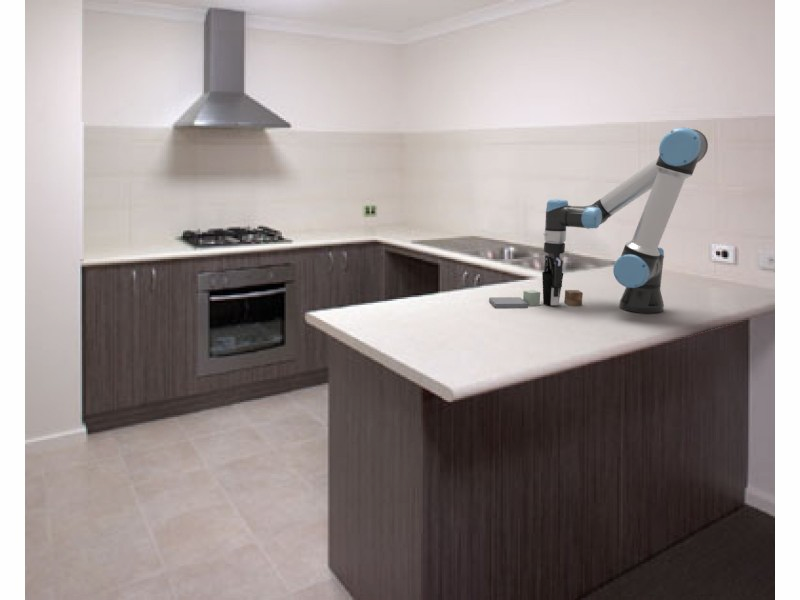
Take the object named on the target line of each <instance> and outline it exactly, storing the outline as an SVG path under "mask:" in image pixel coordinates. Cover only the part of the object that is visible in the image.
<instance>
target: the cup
mask: <svg viewBox="0 0 800 600" xmlns="http://www.w3.org/2000/svg"><path fill="white" fill-rule="evenodd" d="M541 277H542V278H541V279H542V302H543V303H542V304H543V305H544V306H548V307H555V306H558V305H559V304H560V303H558V305H551V290H552V288H551V286H553V283H552V277H553V274H547V271H544V270H543V271H542V274H541ZM563 278H564V273H563V272H562V280H563ZM561 291H562V287H560V288H559V299H560V297H561Z"/></svg>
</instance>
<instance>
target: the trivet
mask: <svg viewBox="0 0 800 600" xmlns="http://www.w3.org/2000/svg"><path fill="white" fill-rule="evenodd" d="M488 298H489V299H488V302H489V303H490V304H491V305H492V306H493V308H494V309H528V307H529V306H528V303H527V302H525V301H524V300H523V297H521V296H518V297H517V296H515V297H514V296H512V297H510V296H509V297H508V296H507V297H506V296H505V297H504V296H503V297H502V296H501V297H500V296H499V297H495V296H494V297H491V296H490V297H488Z"/></svg>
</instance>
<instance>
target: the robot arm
mask: <svg viewBox="0 0 800 600" xmlns="http://www.w3.org/2000/svg"><path fill="white" fill-rule="evenodd" d="M708 143H709V142H708V139H707V137H706V135H705V134H704V133H703V132H701V130H700V131H699V130H698V129H693V128H690V127H678V128H675V129H672V130H670V131H669V132H667V133H666V134H665V135H664V136H663V138H662V139H661V141H660V142H659V148H658V153H659V155H658V157H657V158H656V159H654V160H653V161H651V162H650V163H649V164H647V165H646V166H644V167H643V168H641V169H639V171H637V172H636V173H634V174H633V175H631V176H630V177H629V178H627V179H626V180H624V181H623V182H622V183H620V184H619V185H617V186H616V187H615V188H613V189H611V191H609V192H607V193H606V194H605V195H603V196H602V197H601V198H599V199H598V200H596V201H595V202H593V203H592V204H590V205H585V206H583V205H582V206H580V205H579V206H577V205H576V206H575V205H573V206H572V205H569V202H568V200H567V199H560V198H559V199H558V198H557V199H548V200H547V202H546V209H545V225H544V233H543V236H544V241H545V242H544V243H543V252H544V253H545V255H544V267H543V272H544V271H547V274H553V277H552V283H553V286H551V288H552V290H551V305H557V306H559V304H560V303H559V302H560V298H559V288H560V287H561V288H562V287H563V279H562V273H563V263H564V260H562V259H561V254H564V253H565V252H566V250H565V249H566V243H565V242H566V240H567V227H570V228H582V229H587V230H589V229H598V228H599V227H600V226H601V225H602V224H604V223H605V222H607V220H608V219H609V218H610V217H611V216H613V215H615V214H616V213H617V212H619V211H620V210H622V209H624V208H626V206H628V205H630V204H631V203H632V202H634V201H635V200H636V199H638V198H639V197H641V196H643V195H644V194H645V193H647V192H649V195H648V198H647V200H646V202H645V206H644V208H643V211H642V213H641V215H640V218H639V222H638V224H637V226H636V229H635V231H634V234H633V237H632V239H631V240H630V241H628V242H626V243H625V245H624V247H623V249H622V252H621V255H620V257H618V258H617V260H616V261H615V263H614V264H613V270H612V271H613V275H614V278H615V280H616V281H617V282H618V284H620V285H621V286H623V287H625V289H624V291H623V293H622V296H621V298H620V300H619V306H618V307H619V308H620V309H621V310H624V311H628V312H632V313H640V314H657V313H658V314H659V313H662V312H663V311H664V310H665V309H664V306H665V303H664V299H663V295H662V290H661V288H662V287H661V286H662V285H661V284H662V278H663V277H662V276H663V268H664V267H663V265H664V258H665V252H664V251H665V250H664V248H663V247H659V245H660V242H661V240H662V238H663V235H664V233H665V230H666V228H667V225H668V223H669V220H670V217H671V215H672V214H673V210H674V208H675V206H676V204H677V200H678V197H679V195H680V193H681V189H682V188H683V185H684V183H685V181H686V180H687V179H689V178H690V177H692V176H693V174H694V171H695V168H696V167H697V164H698V163H699V162H701V160H703V158H704V157H705V156H706V154H707V152H708V147H709V144H708ZM649 190H650V191H649ZM558 303H559V304H558Z"/></svg>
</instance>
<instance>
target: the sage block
mask: <svg viewBox="0 0 800 600" xmlns="http://www.w3.org/2000/svg"><path fill="white" fill-rule="evenodd" d="M522 296H523V297H522V299H523V300H524V301H525V302H527V303H528V307H536V306H540V303H541V301H540V300H541V292H540V291H538V290H535V289H531V290H530V289H529V290H523V295H522Z"/></svg>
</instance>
